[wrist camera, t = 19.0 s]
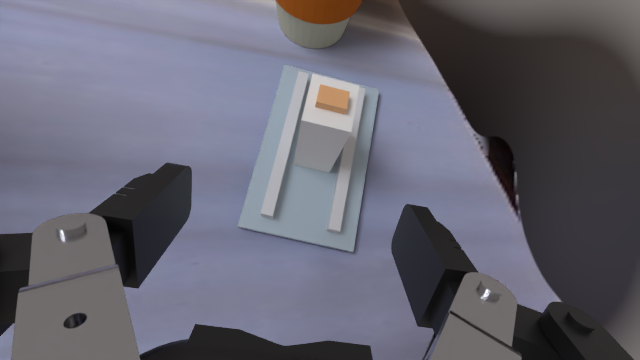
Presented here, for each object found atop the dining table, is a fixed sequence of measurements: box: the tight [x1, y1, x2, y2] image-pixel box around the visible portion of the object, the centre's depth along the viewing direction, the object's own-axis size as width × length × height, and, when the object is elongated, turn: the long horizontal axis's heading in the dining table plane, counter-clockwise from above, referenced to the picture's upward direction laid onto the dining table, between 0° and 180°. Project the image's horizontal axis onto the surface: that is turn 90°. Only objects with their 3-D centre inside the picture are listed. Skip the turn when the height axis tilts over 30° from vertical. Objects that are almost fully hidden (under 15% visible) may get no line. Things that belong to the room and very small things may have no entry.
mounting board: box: [238, 65, 379, 252], centre depth 33 cm, size 20×12×2 cm, turn 169°
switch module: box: [294, 74, 359, 173], centre depth 28 cm, size 4×4×11 cm
